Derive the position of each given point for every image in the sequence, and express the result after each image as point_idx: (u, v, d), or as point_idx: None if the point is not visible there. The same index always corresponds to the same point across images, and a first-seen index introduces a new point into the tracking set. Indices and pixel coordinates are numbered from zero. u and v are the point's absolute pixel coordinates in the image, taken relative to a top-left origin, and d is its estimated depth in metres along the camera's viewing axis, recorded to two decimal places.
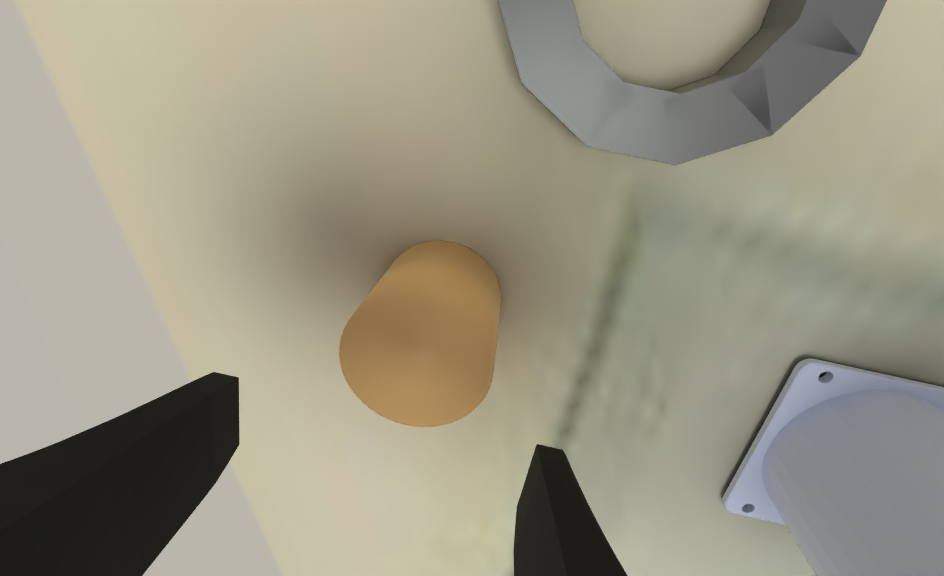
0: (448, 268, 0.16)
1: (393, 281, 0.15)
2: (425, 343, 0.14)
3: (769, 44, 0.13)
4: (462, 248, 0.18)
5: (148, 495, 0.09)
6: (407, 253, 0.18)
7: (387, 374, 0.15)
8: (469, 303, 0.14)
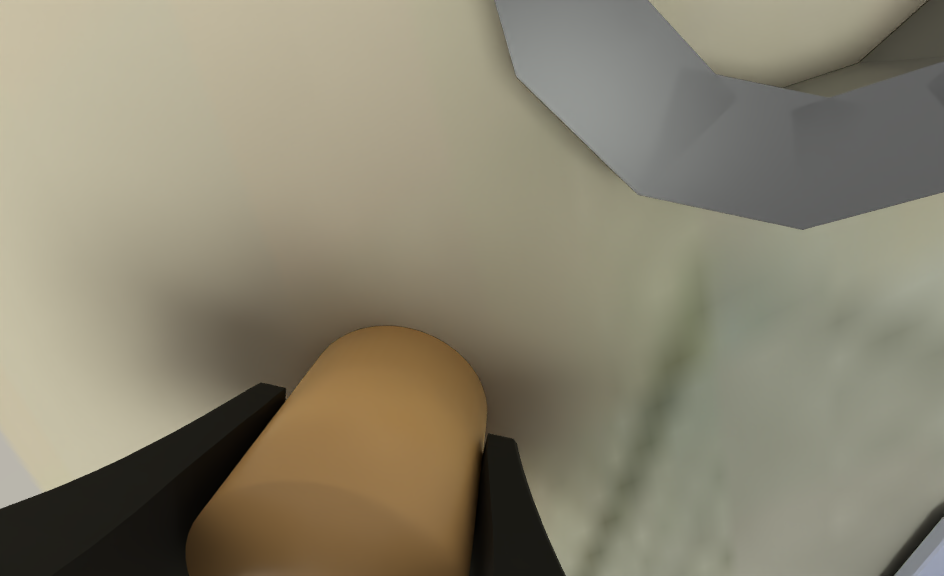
0: (391, 398, 0.09)
1: (285, 435, 0.08)
2: (338, 561, 0.08)
3: None
4: (424, 340, 0.11)
5: None
6: (335, 350, 0.11)
7: None
8: (419, 486, 0.08)
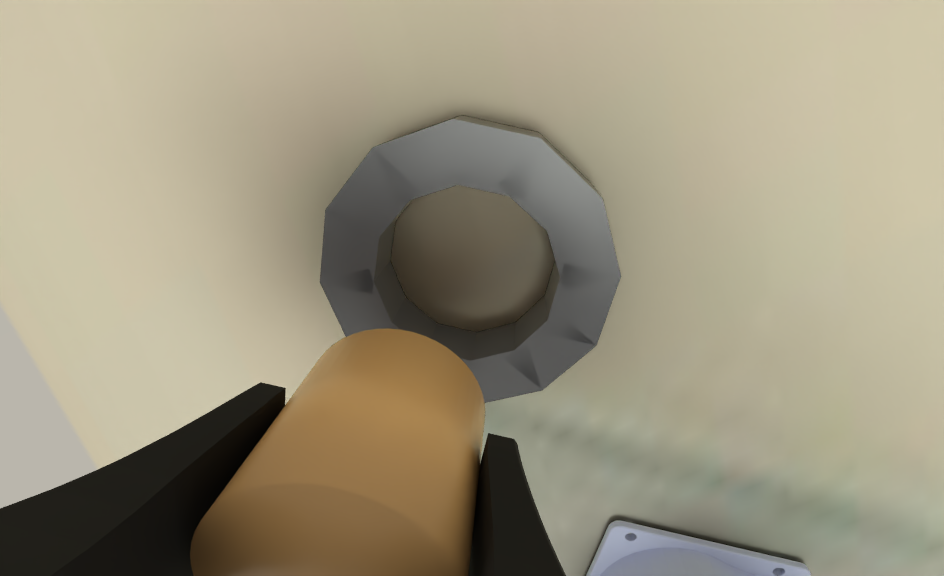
0: (398, 403, 0.09)
1: (294, 437, 0.08)
2: (343, 562, 0.08)
3: (532, 330, 0.17)
4: (428, 345, 0.11)
5: (206, 509, 0.09)
6: (340, 351, 0.11)
7: None
8: (425, 492, 0.08)
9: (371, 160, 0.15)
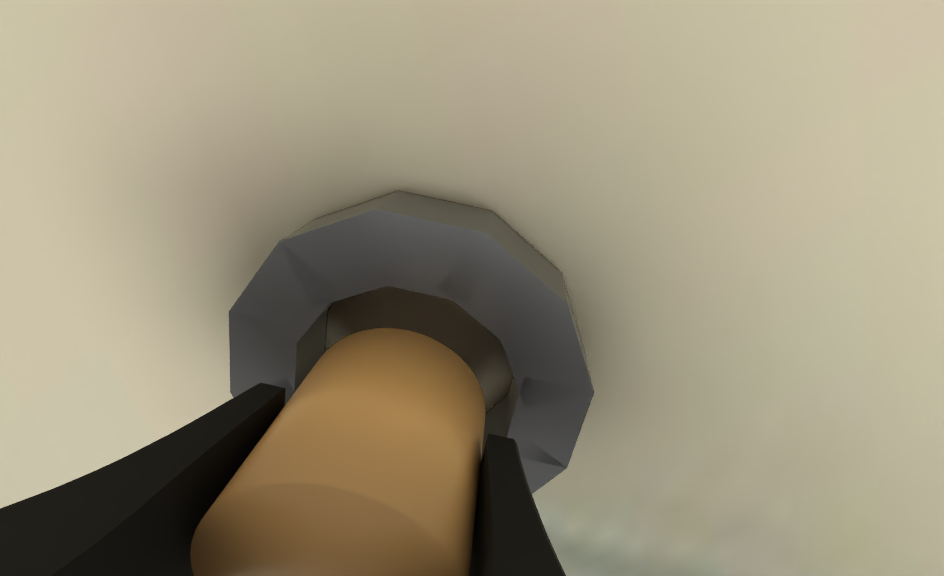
0: (398, 402, 0.09)
1: (295, 436, 0.08)
2: (343, 562, 0.08)
3: None
4: (428, 344, 0.11)
5: (207, 509, 0.09)
6: (340, 350, 0.11)
7: None
8: (426, 491, 0.08)
9: (279, 256, 0.12)
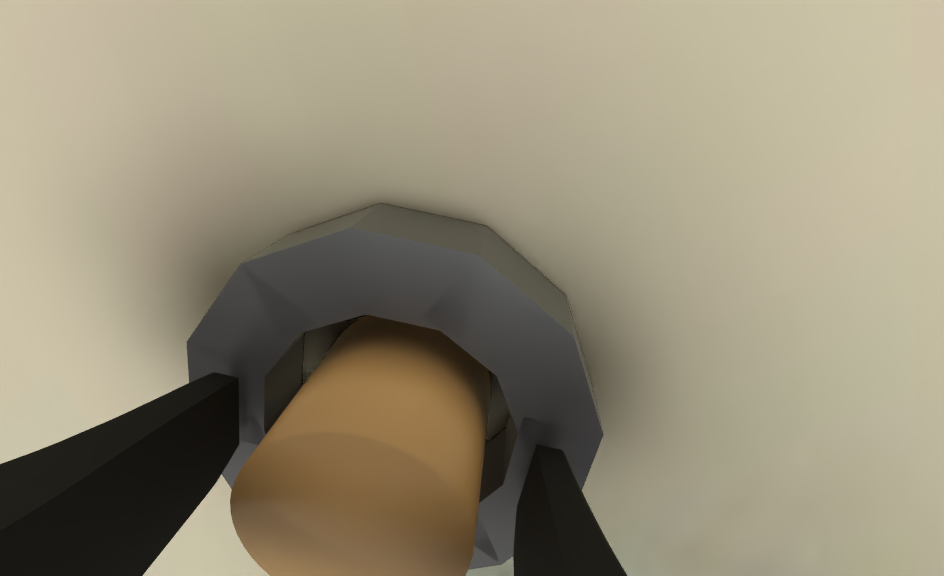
0: (413, 371, 0.10)
1: (322, 397, 0.09)
2: (366, 507, 0.09)
3: (484, 491, 0.12)
4: None
5: (148, 495, 0.09)
6: (359, 328, 0.12)
7: (307, 543, 0.09)
8: (440, 445, 0.09)
9: (241, 280, 0.10)
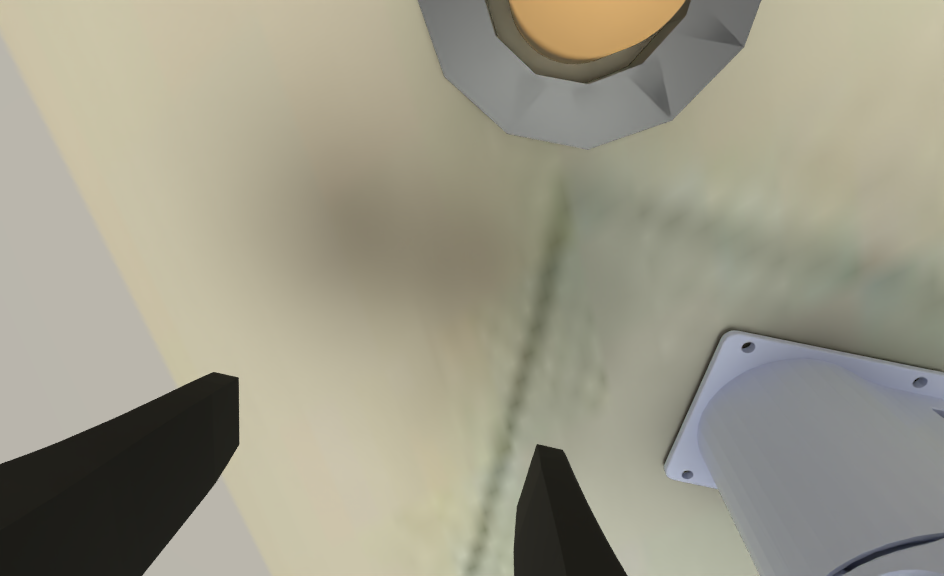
0: None
1: None
2: None
3: (664, 37, 0.14)
4: None
5: (148, 495, 0.09)
6: None
7: None
8: None
9: None
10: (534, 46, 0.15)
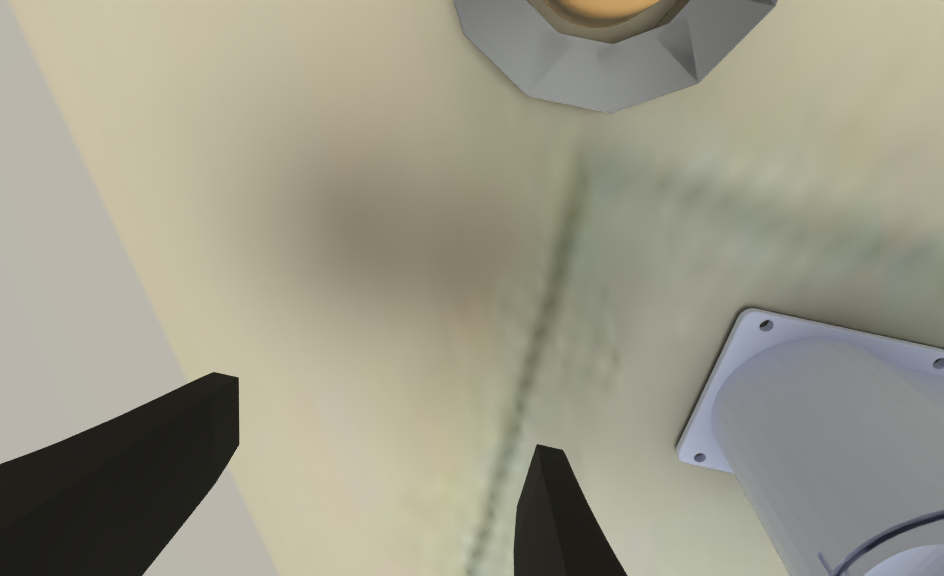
0: None
1: None
2: None
3: None
4: None
5: (148, 495, 0.09)
6: None
7: None
8: None
9: None
10: (556, 6, 0.15)
